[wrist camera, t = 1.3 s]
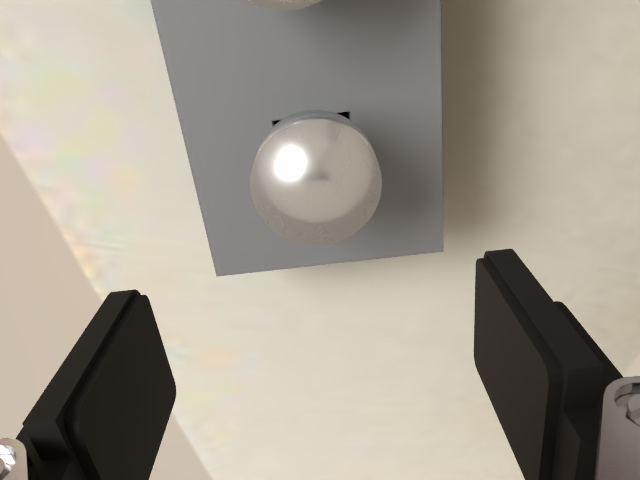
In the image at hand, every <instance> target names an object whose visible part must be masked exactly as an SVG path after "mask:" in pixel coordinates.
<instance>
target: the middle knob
mask: <svg viewBox="0 0 640 480" xmlns="http://www.w3.org/2000/svg"><path fill="white" fill-rule="evenodd" d="M248 1H249V2H251V3H253V4H255V5H258V6H261V7H263V8H267V9H272V10H280V11H288V10H297V9H302V8H305V7H308V6H311V5H313V4H315V3H317V2H319V1H321V0H248Z"/></svg>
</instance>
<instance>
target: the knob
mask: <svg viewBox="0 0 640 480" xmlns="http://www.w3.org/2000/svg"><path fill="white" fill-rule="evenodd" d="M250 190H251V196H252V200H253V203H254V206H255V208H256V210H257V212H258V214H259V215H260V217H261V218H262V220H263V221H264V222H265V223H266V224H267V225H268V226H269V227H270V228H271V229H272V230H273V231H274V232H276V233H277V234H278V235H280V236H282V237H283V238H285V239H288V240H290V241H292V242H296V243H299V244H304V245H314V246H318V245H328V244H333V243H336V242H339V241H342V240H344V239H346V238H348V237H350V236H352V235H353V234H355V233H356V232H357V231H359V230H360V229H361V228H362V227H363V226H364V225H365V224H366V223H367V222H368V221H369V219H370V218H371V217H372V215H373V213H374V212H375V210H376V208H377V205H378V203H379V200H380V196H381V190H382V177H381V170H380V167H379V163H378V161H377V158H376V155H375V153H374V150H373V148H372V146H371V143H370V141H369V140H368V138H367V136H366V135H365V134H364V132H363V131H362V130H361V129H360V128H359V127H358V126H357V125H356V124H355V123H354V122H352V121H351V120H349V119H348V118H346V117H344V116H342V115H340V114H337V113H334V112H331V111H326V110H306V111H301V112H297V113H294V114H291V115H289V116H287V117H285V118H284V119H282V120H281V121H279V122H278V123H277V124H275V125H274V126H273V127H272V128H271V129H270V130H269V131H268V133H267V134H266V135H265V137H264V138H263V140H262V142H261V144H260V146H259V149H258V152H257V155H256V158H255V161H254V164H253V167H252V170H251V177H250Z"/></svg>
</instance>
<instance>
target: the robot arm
mask: <svg viewBox="0 0 640 480" xmlns="http://www.w3.org/2000/svg"><path fill="white" fill-rule="evenodd" d="M474 360H475V365H476V368H477V371H478V373H479V375H480V378H481V380H482V382H483V384H484V387H485V389H486V391H487V394H488V396H489V398H490V400H491V403H492V405H493V407H494V410H495V412H496V414H497V416H498V419H499V421H500V423H501V426H502V428H503V430H504V432H505V435H506V437H507V439H508V442H509V444H510V446H511V448H512V451H513V453H514V455H515V458H516V460H517V462H518V464H519V467H520V469H521V471H522V474H523V476H524V478H525V480H640V376H634V377H623V376H622V375H621V374H620V372H619V371H618V370H617V369H616V368H615V366H614V365H613V364H612V363H611V361H610V360H609V359H608V358H607V356H606V355H605V354H604V353H603V351H602V350H601V349H600V348H599V346H598V345H597V344H596V343H595V342H594V340H593V339H592V338H591V337H590V335H589V334H588V333H587V332H586V330H585V329H584V328H583V327H582V325H581V324H580V323H579V322H578V320H577V319H576V318H575V317H574V316H573V314H572V313H571V312H570V311H569V309H568V308H567V307H566V306H565V305H564V304H563V303H562V302H558V301H556V302H553V300H552V299H551V298H550V296H549V295H548V294H547V293H546V291H545V290H544V289H543V287H542V286H541V285H540V284H539V282H538V281H537V280H536V278H535V277H534V276H533V275H532V273H531V272H530V271H529V269H528V268H527V267H526V266H525V264H524V263H523V262H522V260H521V259H520V258H519V257H518V255H517V254H516V253H515V252H514V250H512V249H505V250H495V251H486V252H485V254H484V258H480V259H477V261H476V281H475V325H474ZM175 398H176V385H175V381H174V378H173V375H172V372H171V368H170V365H169V362H168V359H167V356H166V352H165V349H164V346H163V343H162V340H161V336H160V333H159V330H158V327H157V324H156V321H155V317H154V314H153V311H152V308H151V305H150V301H149V299H148V297H147V296H146V295H140V293H139V292H138V291H137V290H127V291H118V292H111V293H110V294H109V295H108V296H107V298H106V299H105V301H104V302H103V304H102V305H101V307H100V308H99V310H98V311H97V313H96V314H95V316H94V317H93V319H92V320H91V322H90V323H89V325H88V326H87V328H86V329H85V331H84V332H83V334H82V335H81V337H80V338H79V340H78V341H77V343H76V344H75V346H74V347H73V349H72V350H71V352H70V353H69V355H68V356H67V358H66V359H65V361H64V362H63V364H62V365H61V367H60V368H59V370H58V371H57V373H56V374H55V376H54V377H53V379H52V380H51V382H50V383H49V385H48V386H47V388H46V389H45V390H44V392H43V394H42V395H41V396H40V398H39V400H38V401H37V402H36V404H35V406H34V407H33V409H32V410H31V412H30V413H29V414H28V416H27V417H26V419H25V421H24V422H23V426H24V427H23V428H22V430H21V431H20V433H19V434H18V436H17V437H16V439H10V438H3V439H0V480H149V477H150V474H151V471H152V468H153V465H154V462H155V459H156V456H157V453H158V450H159V447H160V444H161V440H162V438H163V435H164V431H165V429H166V425H167V423H168V420H169V417H170V414H171V411H172V408H173V405H174V402H175Z"/></svg>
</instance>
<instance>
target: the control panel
mask: <svg viewBox="0 0 640 480" xmlns="http://www.w3.org/2000/svg"><path fill="white" fill-rule="evenodd" d="M151 4H152V8H153V12H154V17H155V21H156V25H157V29H158V33H159V38H160V42H161V46H162V50H163V54H164V58H165V63H166V67H167V71H168V75H169V79H170V83H171V88H172V92H173V96H174V100H175V104H176V108H177V113H178V117H179V121H180V125H181V129H182V134H183V138H184V142H185V146H186V150H187V154H188V159H189V163H190V167H191V171H192V175H193V179H194V184H195V188H196V192H197V196H198V200H199V204H200V209H201V213H202V217H203V221H204V225H205V230H206V234H207V238H208V242H209V246H210V250H211V255H212V259H213V263H214V267H215V271H216V275H217V276H225V275H234V274H243V273H252V272H261V271H270V270H279V269H288V268H297V267H306V266H315V265H324V264H333V263H343V262H352V261H361V260H370V259H379V258H388V257H397V256H406V255H415V254H424V253H433V252H442V251H443V176H442V86H441V0H321V1H319V2H317V3H315V4H313V5H311V6H308V7H305V8H302V9H297V10H288V11H280V10H272V9H267V8H263V7H261V6H258V5H255V4H253V3H251V2H249V1H248V0H151ZM306 110H326V111H331V112H334V113H340V112H348V111H349V120H351V121H352V122H354V123H355V124H356V125H357V126H358V127H359V128H360V129H361V130H362V131H363V132H364V134H365V135H366V136H367V138H368V140H369V141H370V143H371V146H372V148H373V150H374V153H375V155H376V158H377V161H378V163H379V167H380V170H381V177H382V190H381V196H380V200H379V203H378V205H377V208H376V210H375V212H374V213H373V215H372V217H371V218H370V219H369V221H368V222H367V223H366V224H365V225H364V226H363V227H362V228H361V229H360V230H359V231H357V232H356V233H355V234H353V235H352V236H350V237H348V238H346V239H344V240H342V241H339V242H336V243H333V244H328V245H318V246H314V245H304V244H299V243H296V242H292V241H290V240H288V239H285V238H283V237H282V236H280V235H278V234H277V233H276V232H274V231H273V230H272V229H271V228H270V227H269V226H268V225H267V224H266V223H265V222H264V221H263V220H262V218H261V217H260V215H259V214H258V212H257V210H256V208H255V206H254V203H253V200H252V196H251V190H250V177H251V170H252V167H253V164H254V161H255V158H256V155H257V152H258V149H259V146H260V144H261V142H262V140H263V138H264V137H265V135H266V134H267V133H268V131H269V130H270V129H271V128H272V127H273V126H274V125H275V124H274V120H282V119H284V118H285V117H287V116H289V115H291V114H294V113H297V112H301V111H306Z"/></svg>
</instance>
